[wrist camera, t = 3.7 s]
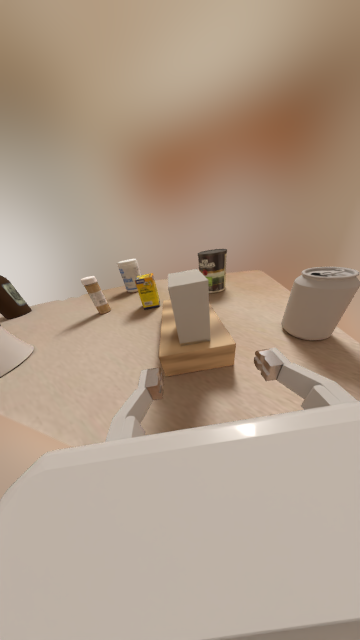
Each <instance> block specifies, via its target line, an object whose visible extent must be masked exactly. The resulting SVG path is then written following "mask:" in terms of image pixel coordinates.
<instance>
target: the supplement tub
mask: <svg viewBox="0 0 360 640" xmlns="http://www.w3.org/2000/svg"><path fill="white" fill-rule="evenodd" d="M118 267H119V270H120V273H121V276H122V278H123V281H124V284H125V286H126V289H127V291H128V292H137V291H138V290H137V287H136V284H135V281H134V280H135V279H136V278H137V276H141V272H140V269H139V265H138V262H137V260H136V259H131V260H126V261H121V262H118Z"/></svg>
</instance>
